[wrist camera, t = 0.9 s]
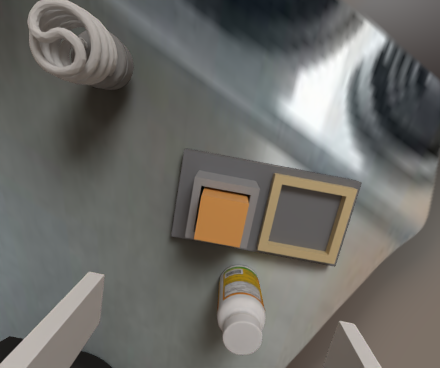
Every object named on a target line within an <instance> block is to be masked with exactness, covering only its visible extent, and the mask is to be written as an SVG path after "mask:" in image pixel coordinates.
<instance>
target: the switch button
mask: <svg viewBox="0 0 440 368" xmlns="http://www.w3.org/2000/svg"><path fill="white" fill-rule="evenodd" d="M248 207H249V201H248V197H247V194H242V193H237V192H231V191H226V190H221V189H215V188H210V187H205V188H204V190H203V193H202V196H201V201H200V207H199V213H198V218H197V224H196V230H195V236H194V239H196V240H201V241H206V242H212V243H217V244H223V245H228V246H233V247H239V248H240V244H241V239H242V235H243V230H244V225H245V221H246V216H247V212H248Z"/></svg>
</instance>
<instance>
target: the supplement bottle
mask: <svg viewBox="0 0 440 368" xmlns="http://www.w3.org/2000/svg"><path fill="white" fill-rule="evenodd" d="M265 320H266V316H265V309H264V304H263V299H262V295H261V289H260V284H259V280H258V277H257V275H256V274H255V272H254V271H253V270H252V269H250V268H249V267H246V266H243V265H235V266H231V267H229V268H227V269H226V270H225V271H224V272H223V273H222V274H221V276H220V279H219V291H218V307H217V321H218V325H219V327H220V329H221V330H222V332H223V343H224V345H225V347H226V348H227V349H228V350H229V351H231V352H232V353H234V354H237V355H248V354H251V353H253V352H255V351H256V350H257V349H258V348H259V347H260V345H261V343H262V329H263V327H264V325H265Z"/></svg>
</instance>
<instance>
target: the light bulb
mask: <svg viewBox="0 0 440 368" xmlns="http://www.w3.org/2000/svg"><path fill="white" fill-rule="evenodd" d="M27 22H28V27H29V45H30V49H31V52H32V55H33V57H34V59H35V60H36V62H37V63H38V64H39V65H40V66H41V67H42V68H43V69H44V70H45V71H46V72H48V73H50V74H52V75H54V76H57V77H58V78H60V79H62V80H65V81H69V82H72V83H75V84H85V85H91V86H92V87H94V88H99V89H105V90H116V89H120V88H122V87H123V86H125V85H126V84H127V83H128V82H129V80H130V79H131V76H132V74H133V69H134V66H133V59H132V56H131V54H130V51H129V50H128V49H127V48H126V46H125V45H124V44H123V43H122V42H121V41H120V40H119V39H118V38H117V37H116V36H115V35H114V34H112V33H110V32H108V31H107V29H106V28H105V27H104V26H103V24H102V23H101V22H100V21H99V20H98V19H96V18H95V17H94V16H92V15H91V14H90V13H89V12H87V11H86V10H84V9H83V8H80V7H79V6H77V5H76V4H74V3H72V2H70V1H68V0H41V1H39V2H37V3H36V4H35V5H34V6H33V8H32V9H31V11H30V12H29V16H28V21H27ZM77 27H85V28H86V31H84V32H82V33H81V34H80V35H79V36H78V37H77V36H76V35H75V34H74V33H72V32H71V31H70V30H72V29H74V28H77ZM62 39H65V40H64V41H63V42H62V43H61V44H60V42H61V40H62ZM71 48H72V51H71V59H72V64H71V63H70V59H69V52H70V49H71Z"/></svg>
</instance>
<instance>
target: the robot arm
mask: <svg viewBox="0 0 440 368" xmlns="http://www.w3.org/2000/svg"><path fill="white" fill-rule="evenodd" d="M104 276H105V275H103V274H98V273H93V272H88V273H87V274H86V275H85V276H84V277H83V278H82V280H81V281H80V282H79V283H78V284H77V285H76V286H75V287H74V288H73V289H72V290H71V291H70V292H69V293H68V294H67V295H66V296H65V297H64V298H63V299H62V300H61V301H60V302H59V303H58V304H57V305H56V306H55V307H54V309H53V310H52V311H51V312H50V313H49V314H48V315H47V316H46V317H45V318H44V319H43V320H42V321H41V322H40V323H39V324H38V325H37V326H36V327H35V328H34V329H33V330H32V331H31V332H30V333H29V334H28V335H27V337H26V338H25V339H21V338H16V337H11V336H9V337H8V338H6V339H4V340H3V341H1V342H0V368H112V367H111V366H110V365H108V364H107V363H106V362H105V361H103V360H102V359H100V358H98V357H96V356H94V355H92V354H89V353H86V352H82V351H81V350H82V348H83V347H84V345H85V344H86V342H87V341H88V339H89V338H90V336H91V335H92V333H93V332H94V330H95V329H96V327H97V326H98V324H99V323H100V316H101V306H102V296H103V286H104ZM323 367H324V368H381V366H380V364H379V363H378V361H377V359H376V358H375V356H374V355H373V353H372V351H371V350H370V348H369V347H368V345H367V343H366V342H365V340H364V338H363V337H362V335H361V334H360V332H359V330H358V329H357V327H356V325H355V324H353V323H348V322H342V321H339V323H338V325H337V328H336V331H335V334H334V337H333V339H332V342H331V345H330V348H329V351H328V353H327V356H326V359H325V362H324V365H323Z"/></svg>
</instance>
